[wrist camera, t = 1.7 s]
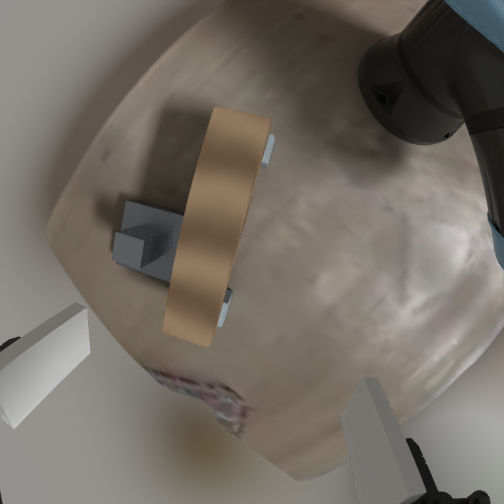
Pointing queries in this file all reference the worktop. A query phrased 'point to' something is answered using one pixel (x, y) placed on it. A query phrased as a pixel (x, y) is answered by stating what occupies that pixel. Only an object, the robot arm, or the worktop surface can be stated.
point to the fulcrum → (148, 239)
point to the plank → (214, 223)
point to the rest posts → (228, 292)
